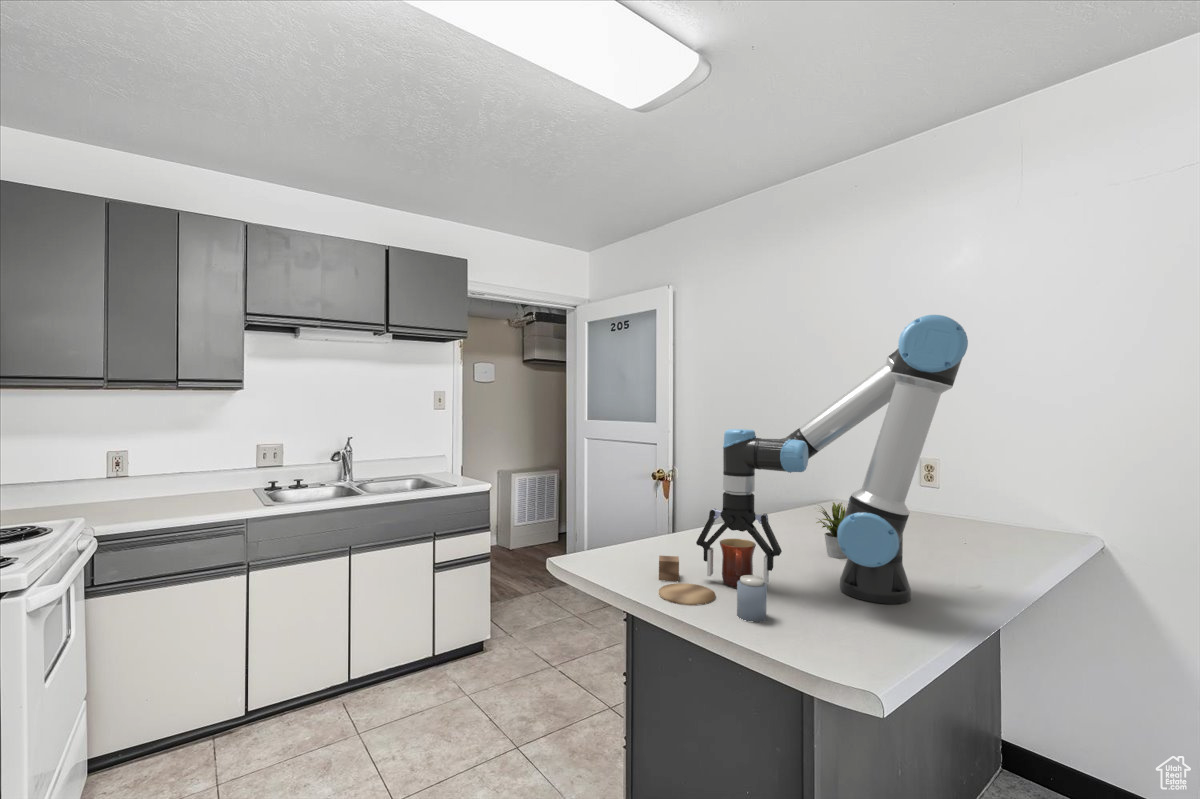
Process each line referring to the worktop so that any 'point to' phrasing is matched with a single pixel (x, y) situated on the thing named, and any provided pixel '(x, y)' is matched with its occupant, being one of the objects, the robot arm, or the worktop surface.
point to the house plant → (833, 531)
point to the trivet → (686, 593)
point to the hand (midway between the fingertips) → (737, 579)
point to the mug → (736, 559)
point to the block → (669, 568)
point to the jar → (751, 598)
